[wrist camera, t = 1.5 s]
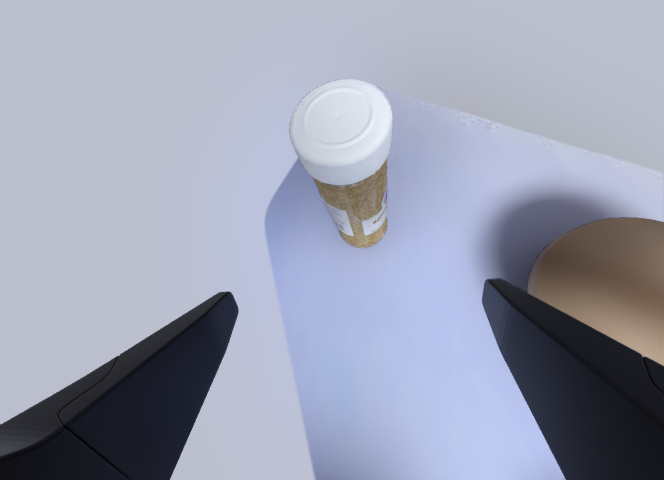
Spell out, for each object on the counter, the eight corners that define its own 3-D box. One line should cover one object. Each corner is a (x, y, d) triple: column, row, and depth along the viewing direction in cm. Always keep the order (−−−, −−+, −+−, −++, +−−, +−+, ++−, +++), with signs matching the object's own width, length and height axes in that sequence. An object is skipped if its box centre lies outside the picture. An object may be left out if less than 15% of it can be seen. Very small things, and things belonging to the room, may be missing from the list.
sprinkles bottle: (392, 242, 22) (406, 145, 9) (342, 253, 23) (292, 175, 10) (381, 197, 23) (379, 60, 11) (334, 208, 24) (280, 90, 11)
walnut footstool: (680, 432, 15) (778, 471, 11) (489, 346, 18) (516, 355, 15) (705, 269, 17) (796, 256, 14) (528, 217, 20) (561, 195, 17)
